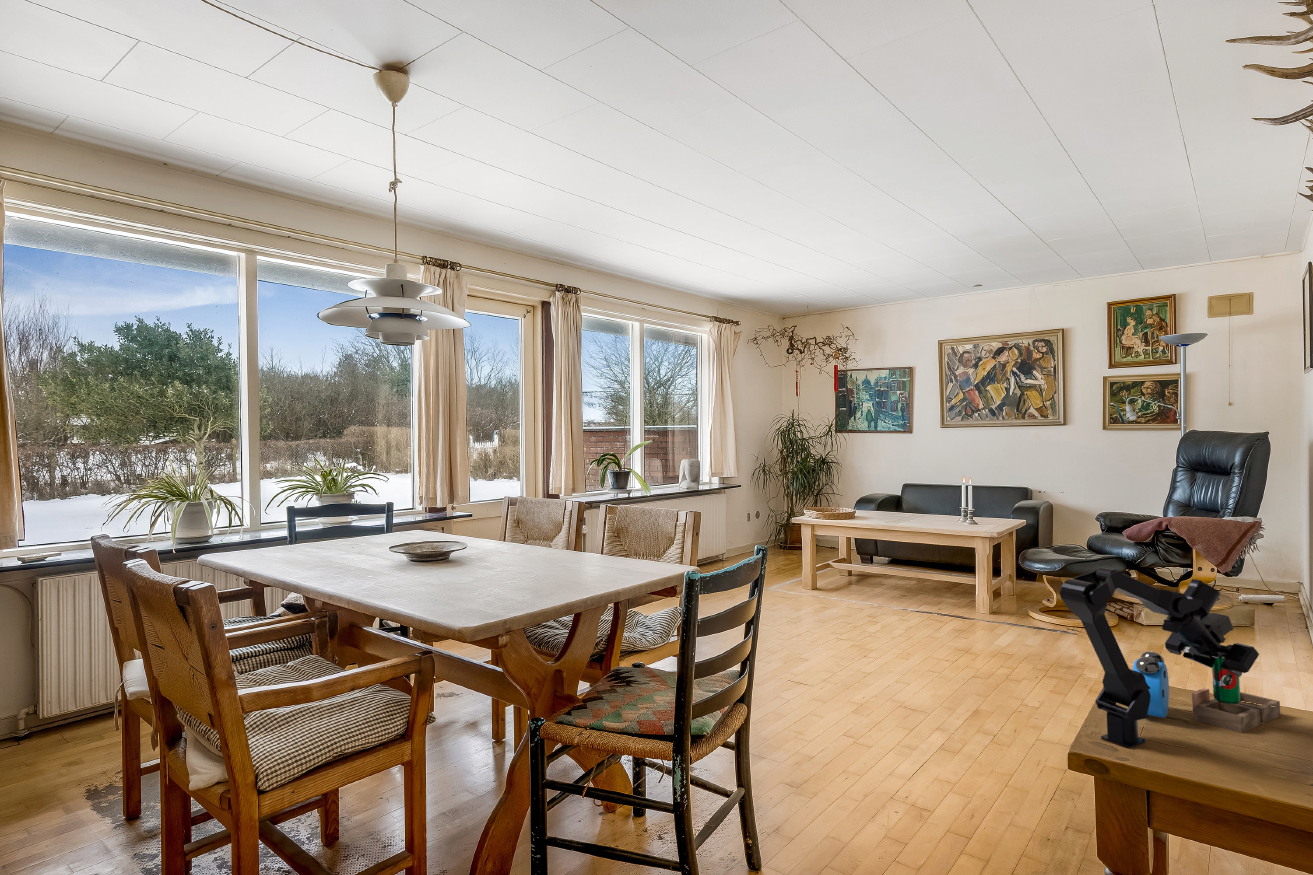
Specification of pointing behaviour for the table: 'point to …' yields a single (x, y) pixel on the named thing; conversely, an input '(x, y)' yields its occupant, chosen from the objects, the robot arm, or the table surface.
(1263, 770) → the table surface
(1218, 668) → the soda can
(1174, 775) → the table surface
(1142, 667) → the alarm clock
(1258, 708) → the socket block
